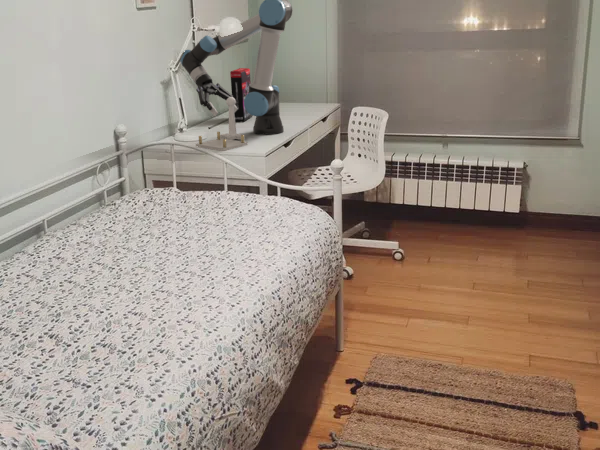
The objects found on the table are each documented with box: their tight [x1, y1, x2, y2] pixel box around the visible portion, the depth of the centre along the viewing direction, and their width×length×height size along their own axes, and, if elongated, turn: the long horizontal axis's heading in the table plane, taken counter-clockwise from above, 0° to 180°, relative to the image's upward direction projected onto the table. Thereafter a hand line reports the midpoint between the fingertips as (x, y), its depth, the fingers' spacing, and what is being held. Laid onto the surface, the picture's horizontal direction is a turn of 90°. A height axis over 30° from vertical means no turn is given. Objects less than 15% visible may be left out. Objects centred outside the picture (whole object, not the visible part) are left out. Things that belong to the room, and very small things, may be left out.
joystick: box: [220, 97, 245, 141], centre depth 326 cm, size 11×8×20 cm
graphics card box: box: [229, 67, 253, 123], centre depth 379 cm, size 17×7×27 cm, turn 168°
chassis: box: [195, 131, 249, 152], centre depth 315 cm, size 16×17×5 cm
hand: (226, 112), depth 326 cm, fingers open, 13 cm apart
